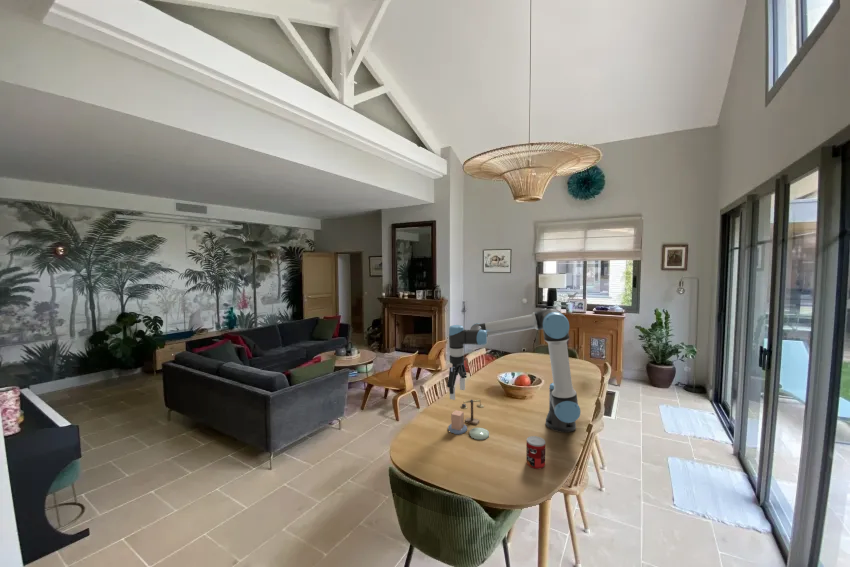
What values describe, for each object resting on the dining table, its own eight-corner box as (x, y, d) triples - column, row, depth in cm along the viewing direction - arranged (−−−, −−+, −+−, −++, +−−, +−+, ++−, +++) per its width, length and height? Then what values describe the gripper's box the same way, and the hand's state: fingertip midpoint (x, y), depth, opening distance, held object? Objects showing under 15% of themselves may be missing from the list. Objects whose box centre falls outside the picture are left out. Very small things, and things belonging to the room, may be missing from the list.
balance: (485, 423, 194) (484, 399, 193) (482, 426, 191) (482, 402, 189) (462, 418, 200) (461, 394, 199) (459, 421, 197) (459, 397, 196)
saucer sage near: (491, 432, 184) (491, 430, 184) (485, 441, 175) (485, 439, 175) (473, 428, 189) (473, 426, 189) (466, 437, 180) (466, 434, 180)
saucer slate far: (469, 427, 190) (469, 425, 190) (462, 436, 181) (462, 433, 181) (452, 423, 194) (452, 421, 194) (445, 431, 186) (445, 429, 186)
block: (463, 426, 189) (463, 411, 188) (460, 430, 184) (460, 415, 184) (455, 424, 191) (455, 410, 190) (451, 428, 187) (451, 414, 186)
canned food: (523, 459, 160) (523, 436, 159) (540, 458, 160) (541, 435, 159) (530, 470, 152) (530, 445, 151) (548, 468, 153) (548, 444, 152)
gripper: (459, 348, 197) (460, 385, 199) (439, 361, 175) (441, 402, 177) (471, 349, 193) (472, 387, 195) (453, 362, 171) (454, 405, 173)
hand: (457, 394), depth 186 cm, fingers open, 13 cm apart
